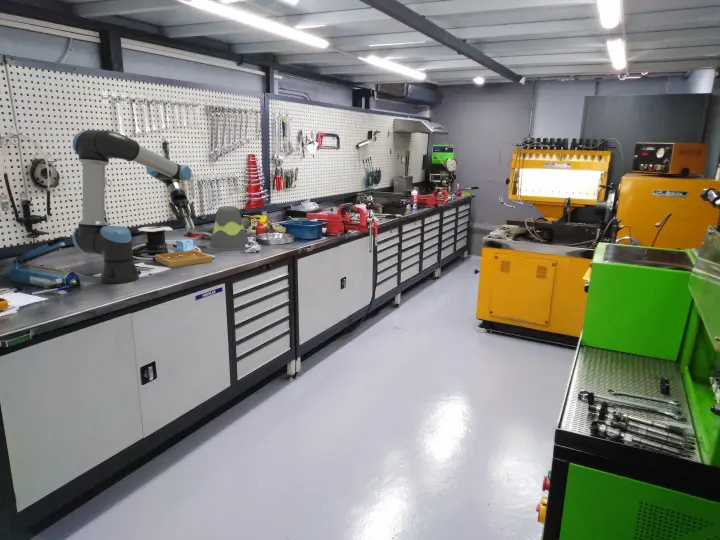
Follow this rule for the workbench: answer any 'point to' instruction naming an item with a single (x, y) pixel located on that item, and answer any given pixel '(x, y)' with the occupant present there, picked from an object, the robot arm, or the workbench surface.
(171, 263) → the parts tray
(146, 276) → the workbench surface
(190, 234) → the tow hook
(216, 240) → the gray green truncated cone
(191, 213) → the robot arm
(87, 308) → the workbench surface
